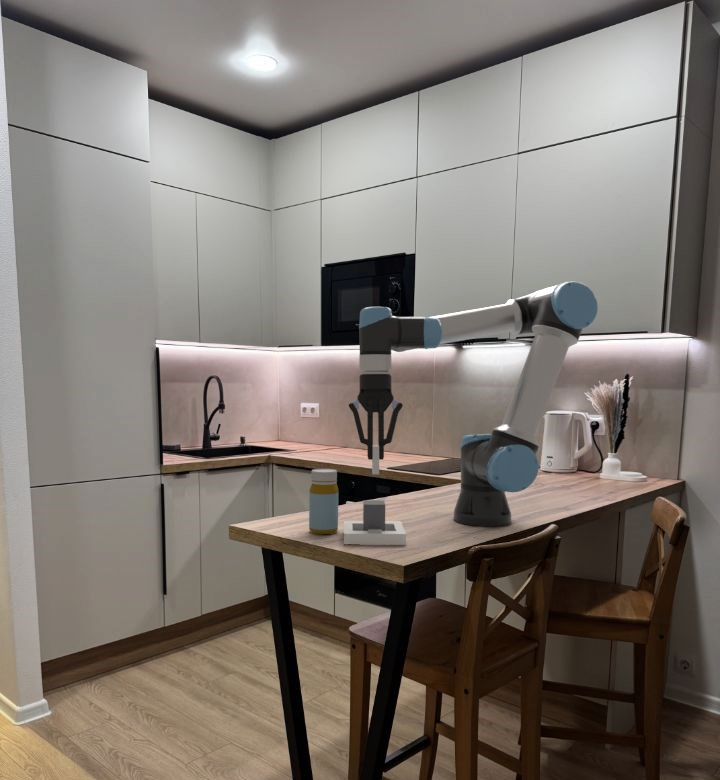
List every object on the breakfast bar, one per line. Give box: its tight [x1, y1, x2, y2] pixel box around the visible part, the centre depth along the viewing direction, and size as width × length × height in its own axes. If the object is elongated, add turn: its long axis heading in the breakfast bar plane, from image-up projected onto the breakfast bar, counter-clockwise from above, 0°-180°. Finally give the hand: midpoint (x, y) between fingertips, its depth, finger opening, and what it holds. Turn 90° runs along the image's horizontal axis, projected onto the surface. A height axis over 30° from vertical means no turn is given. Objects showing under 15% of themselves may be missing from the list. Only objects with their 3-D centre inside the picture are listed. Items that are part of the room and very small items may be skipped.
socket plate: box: [343, 520, 407, 546], centre depth 146 cm, size 14×13×3 cm
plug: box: [362, 499, 386, 531], centre depth 146 cm, size 5×5×8 cm
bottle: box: [308, 468, 339, 535], centre depth 151 cm, size 7×7×15 cm
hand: (375, 473), depth 146 cm, fingers closed
